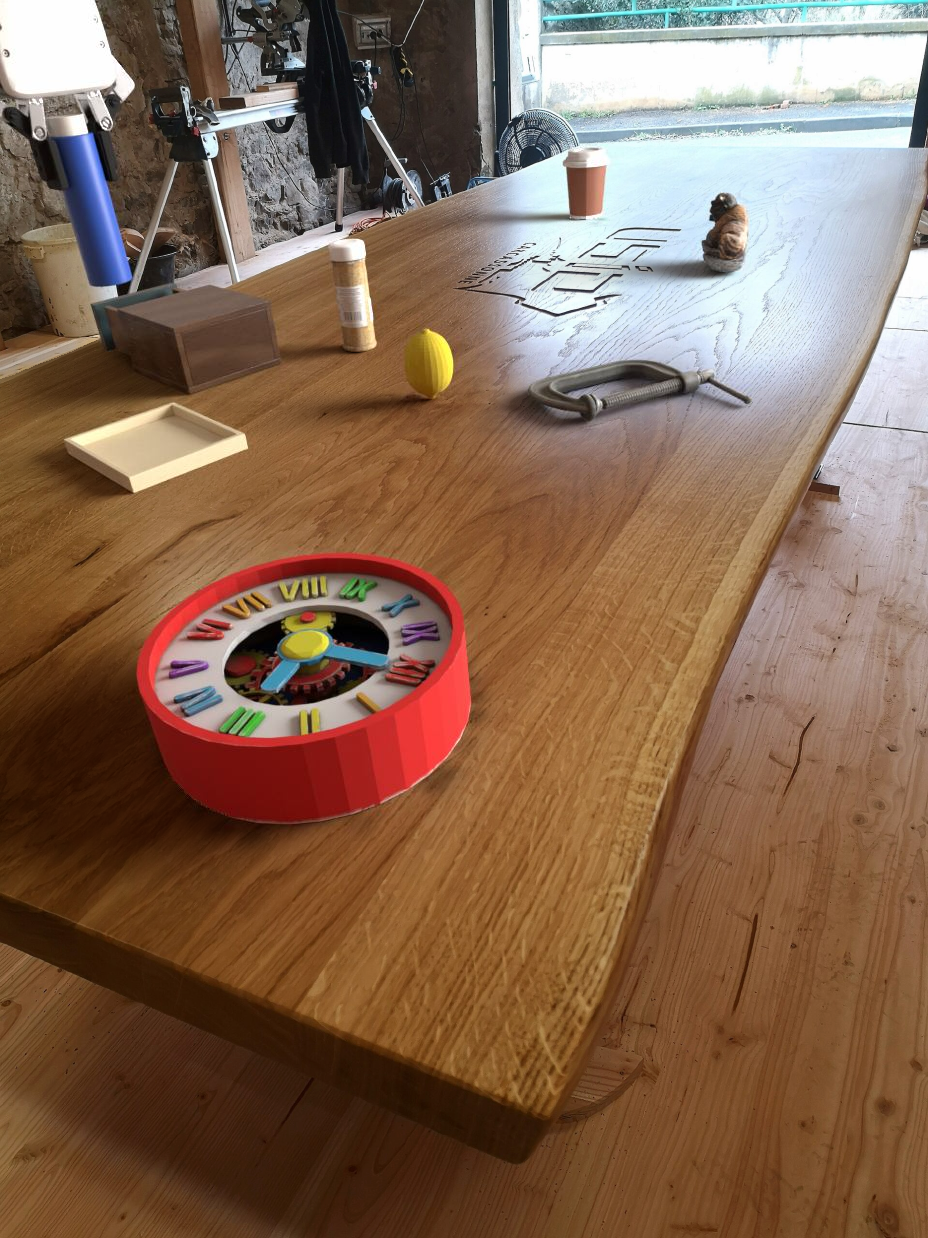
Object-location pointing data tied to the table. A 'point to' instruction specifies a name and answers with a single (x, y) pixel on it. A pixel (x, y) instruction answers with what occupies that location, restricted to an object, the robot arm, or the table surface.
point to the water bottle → (89, 202)
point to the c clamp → (589, 405)
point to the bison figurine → (726, 235)
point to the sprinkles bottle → (352, 294)
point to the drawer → (110, 319)
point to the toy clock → (307, 686)
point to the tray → (155, 446)
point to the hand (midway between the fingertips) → (82, 182)
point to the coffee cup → (586, 181)
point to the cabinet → (200, 337)
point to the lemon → (428, 363)
